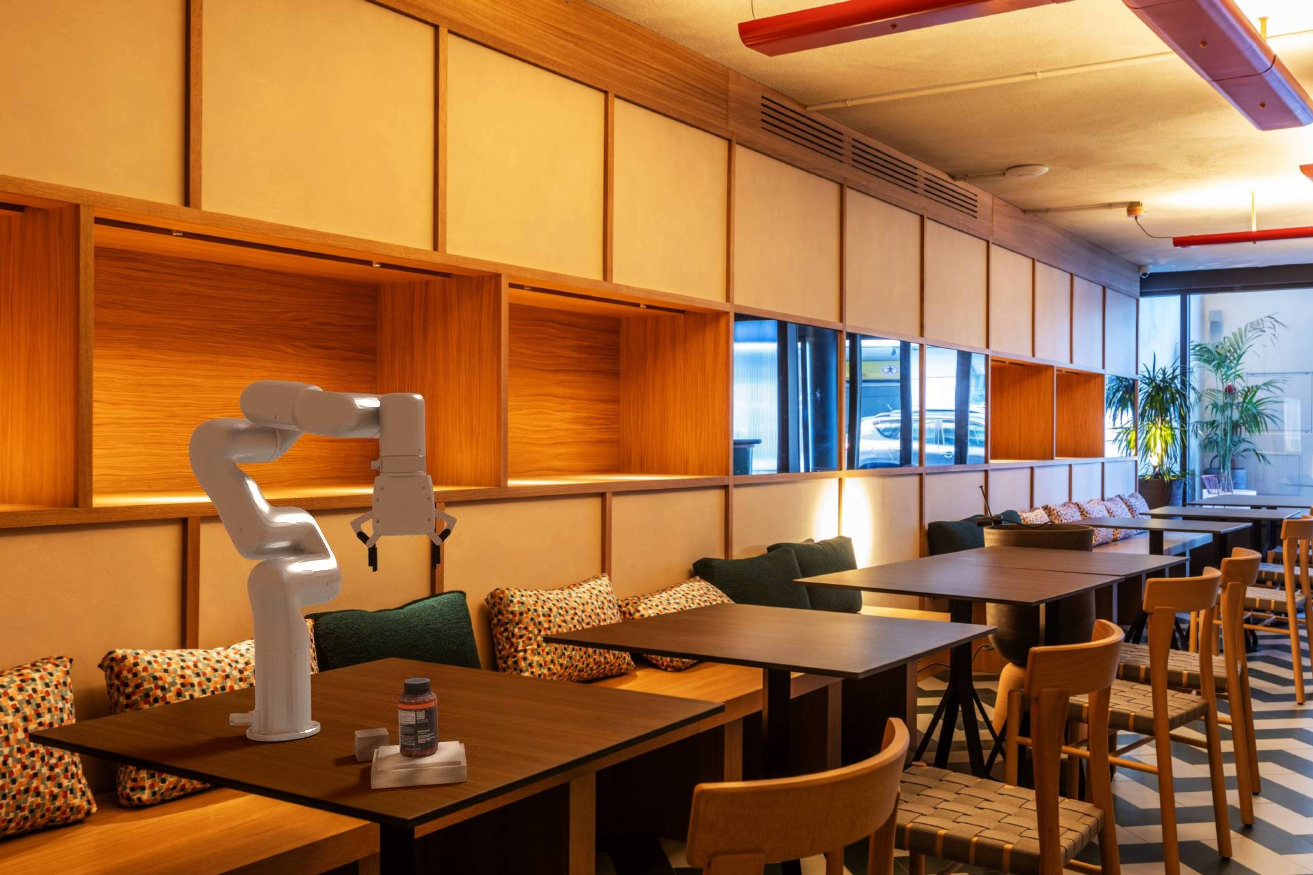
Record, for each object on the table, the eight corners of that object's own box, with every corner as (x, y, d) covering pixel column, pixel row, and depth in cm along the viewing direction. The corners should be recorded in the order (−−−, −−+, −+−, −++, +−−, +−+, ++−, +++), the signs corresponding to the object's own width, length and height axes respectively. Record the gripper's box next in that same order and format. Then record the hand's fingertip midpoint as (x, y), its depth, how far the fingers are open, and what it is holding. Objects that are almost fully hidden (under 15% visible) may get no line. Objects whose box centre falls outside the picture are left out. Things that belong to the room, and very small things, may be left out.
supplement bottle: (421, 746, 181) (420, 674, 182) (446, 751, 178) (445, 678, 178) (391, 754, 177) (390, 680, 177) (415, 760, 173) (414, 685, 173)
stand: (371, 788, 169) (370, 768, 169) (375, 764, 182) (374, 745, 182) (467, 781, 172) (466, 761, 172) (463, 757, 185) (463, 739, 185)
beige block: (358, 762, 185) (357, 737, 185) (355, 754, 189) (354, 730, 189) (389, 758, 186) (389, 734, 186) (385, 751, 191) (385, 727, 191)
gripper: (348, 468, 185) (349, 574, 184) (456, 466, 188) (458, 569, 188) (350, 468, 192) (352, 569, 192) (455, 466, 196) (456, 565, 195)
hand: (404, 569), depth 190 cm, fingers open, 9 cm apart
